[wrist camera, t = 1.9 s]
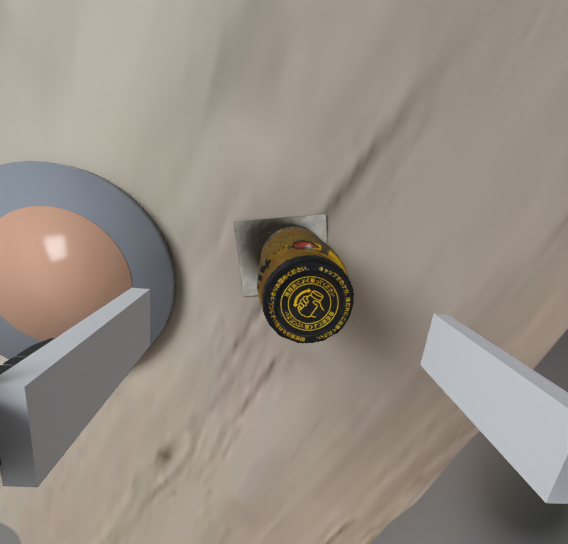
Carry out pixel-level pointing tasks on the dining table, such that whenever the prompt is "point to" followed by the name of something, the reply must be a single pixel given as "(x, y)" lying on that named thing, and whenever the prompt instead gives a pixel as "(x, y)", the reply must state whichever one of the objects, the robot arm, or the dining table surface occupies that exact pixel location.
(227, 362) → the dining table surface
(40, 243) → the ring stand
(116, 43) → the dining table surface
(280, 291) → the condiment
